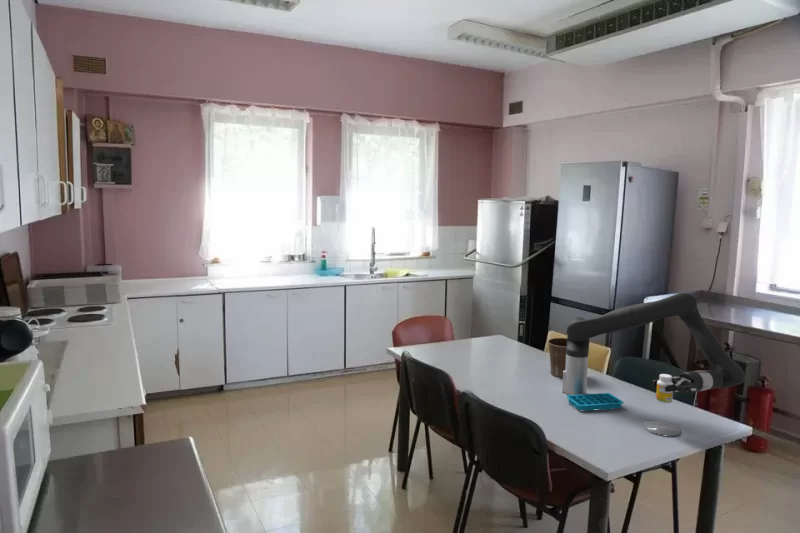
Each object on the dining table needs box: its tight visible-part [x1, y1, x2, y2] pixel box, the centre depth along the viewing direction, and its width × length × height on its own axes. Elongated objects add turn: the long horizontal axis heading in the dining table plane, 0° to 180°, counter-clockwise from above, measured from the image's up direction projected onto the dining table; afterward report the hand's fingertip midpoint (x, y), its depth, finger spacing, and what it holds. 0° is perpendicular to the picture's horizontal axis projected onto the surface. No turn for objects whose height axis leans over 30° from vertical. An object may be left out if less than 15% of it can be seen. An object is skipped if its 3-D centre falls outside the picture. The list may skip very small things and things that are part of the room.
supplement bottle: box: [655, 373, 674, 404], centre depth 199 cm, size 5×5×10 cm
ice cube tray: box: [566, 392, 625, 411], centre depth 224 cm, size 12×20×3 cm, turn 100°
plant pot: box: [547, 337, 567, 379], centre depth 262 cm, size 16×16×16 cm
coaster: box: [643, 420, 681, 437], centre depth 201 cm, size 12×12×1 cm
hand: (659, 386), depth 198 cm, fingers closed on supplement bottle, 5 cm apart
